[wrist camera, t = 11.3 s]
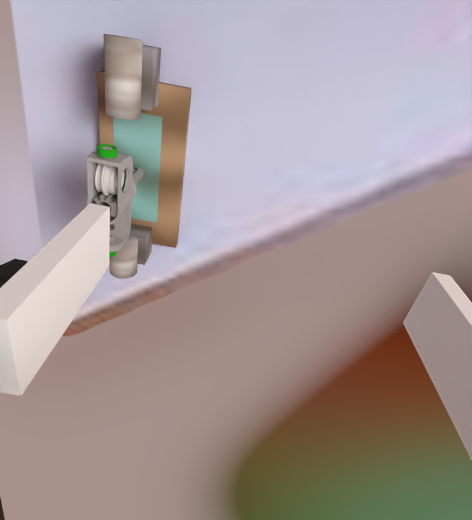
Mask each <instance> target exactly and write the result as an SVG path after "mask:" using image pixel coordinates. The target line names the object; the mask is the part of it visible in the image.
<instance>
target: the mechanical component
mask: <svg viewBox="0 0 472 520" xmlns="http://www.w3.org/2000/svg"><path fill="white" fill-rule="evenodd" d="M97 163H98V164H97ZM86 164H87V193H88V200H87V203H86V207H87V206H88V205H89V204H90V203H92V204H97V205H102V206H107V207H110V242H109V258H110V257H113V256H115V255H116V251H118V250H120V249H122V247H123V246H124V244H125V243H126V241H127V240H128V237H129V234H130V229H131V206H132V198H133V197H134V196H135V194H136V185H137V184H138V183H139V181H140V180H141V179H142V178H143V176H144V171H143V169H141V168H138V167H136V170H135V169H133V160H132V157H131V156H127V155H122V154H117V147H116V146H113V145H108V144H100V145H98V146H97V152H93V153H91V154H90V155H89V156H87V157H86ZM96 164H97V165H96ZM93 183H94V184H93ZM94 186H95V187H94Z"/></svg>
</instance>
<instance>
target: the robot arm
mask: <svg viewBox="0 0 472 520" xmlns="http://www.w3.org/2000/svg"><path fill="white" fill-rule="evenodd" d="M109 242H110V207H107V206H102V205H97V204H92V203H90V204H89V205H88V206H87V207H85V208H84V209H83V210H82V211H81V212H80V213H79V214H78V215H77V216H76V217H75V218H74V219H73V220H72V221H71V222H70V223H69V224H68V225H66V226H65V227H64V228H63V229H62V230H61V231H60V232H59V233H58V234H57V235H56V236H55V237H54V238H53V239H52V240H51V241H50V242H48V243H47V244H46V245H45V246H44V247H43V248H42V249H41V250H40V251H39V252H38V253H37V254H36V255H35V256H34V257H33V258H32V259H31V260H29V261H24V260H18V259H14V260H11V261H9V262H7V263H5V264H2V265H0V392H2V393H7V394H13V395H19V396H21V395H22V394H23V392H24V390H25V389H26V388H27V386H28V385H29V383H30V382H31V380H32V379H33V377H34V376H35V374H36V373H37V371H38V370H39V368H40V367H41V366H42V364H43V363H44V361H45V360H46V358H47V357H48V355H49V354H50V352H51V351H52V349H53V348H54V346H55V345H56V343H57V342H58V341H59V339H60V337H61V336H62V335H63V333H64V332H65V330H66V329H67V327H68V326H69V324H70V323H71V321H72V320H73V318H74V317H75V315H76V314H77V313H78V311H79V310H80V308H81V307H82V305H83V304H84V302H85V301H86V299H87V298H88V296H89V295H90V293H91V292H92V290H93V289H94V287H95V286H96V284H97V283H98V282H99V280H100V279H101V277H102V276H103V274H104V273H105V271H106V270H107V268H108V267H109ZM403 324H404V326H405V328H406V330H407V332H408V334H409V336H410V337H411V340H412V342H413V344H414V346H415V348H416V350H417V352H418V354H419V356H420V358H421V360H422V362H423V364H424V366H425V368H426V370H427V372H428V374H429V376H430V378H431V380H432V381H433V384H434V386H435V388H436V390H437V392H438V394H439V396H440V398H441V400H442V402H443V404H444V406H445V408H446V410H447V412H448V414H449V415H450V418H451V420H452V422H453V423H454V426H455V428H456V430H457V432H458V434H459V435H460V438H461V439H462V442H463V444H464V446H465V447H466V450H467V452H468V454H469V456H470V457H471V460H472V302H470V300H469V299H468V297H467V296H466V295H465V294H464V292H463V291H462V290H461V289H460V287H459V286H458V285H457V284H456V283H455V281H454V280H453V279H452V277H451V276H448V275H444V274H439V273H434V272H432V273H431V275H430V277H429V278H428V280H427V282H426V284H425V285H424V287H423V289H422V291H421V292H420V294H419V296H418V297H417V299H416V301H415V303H414V304H413V306H412V308H411V309H410V311H409V313H408V315H407V316H406V318H405V320H404V322H403ZM0 520H5V519H4V514H3V509H2V504H1V499H0Z"/></svg>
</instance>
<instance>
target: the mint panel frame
mask: <svg viewBox="0 0 472 520" xmlns="http://www.w3.org/2000/svg"><path fill="white" fill-rule="evenodd" d="M142 44H143V41H141V40H138V39H133V38H128V37H122V36H116V35H109V34H104V66H105V72H103V71H100V72H97V79H98V107H99V136H100V144H108V145H113V146H116V147H117V154H122V155H127V156H131V157H132V160H133V169H135V170H136V167H138V168H141V169H143V171H144V176H143V178H142V179H141V180H140V181H139V183H138V184H137V185H136V194H135V196H134V197H133V198H132V206H131V229H130V234H129V237H128V240H127V241H126V243H125V244H124V246H123V247H122V249H120V250H118V251H116V255H115V256H113V257H110V258H109V263H110V274H111V275H112V276H114V277H117V278H130V277H133V276H134V275H135V274H136V273H137V264H142V265H145V263H146V261H147V259H148V257H149V255H150V253H151V247H152V244H158V245H164V246H169V247H175V248H176V246H177V243H178V232H179V221H180V210H181V199H182V187H183V176H184V165H185V154H186V143H187V132H188V121H189V110H190V99H191V88H188V87H182V86H177V85H172V84H167V83H161V82H159V76H160V54H161V48H157V47H152V46H147V45H142Z"/></svg>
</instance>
